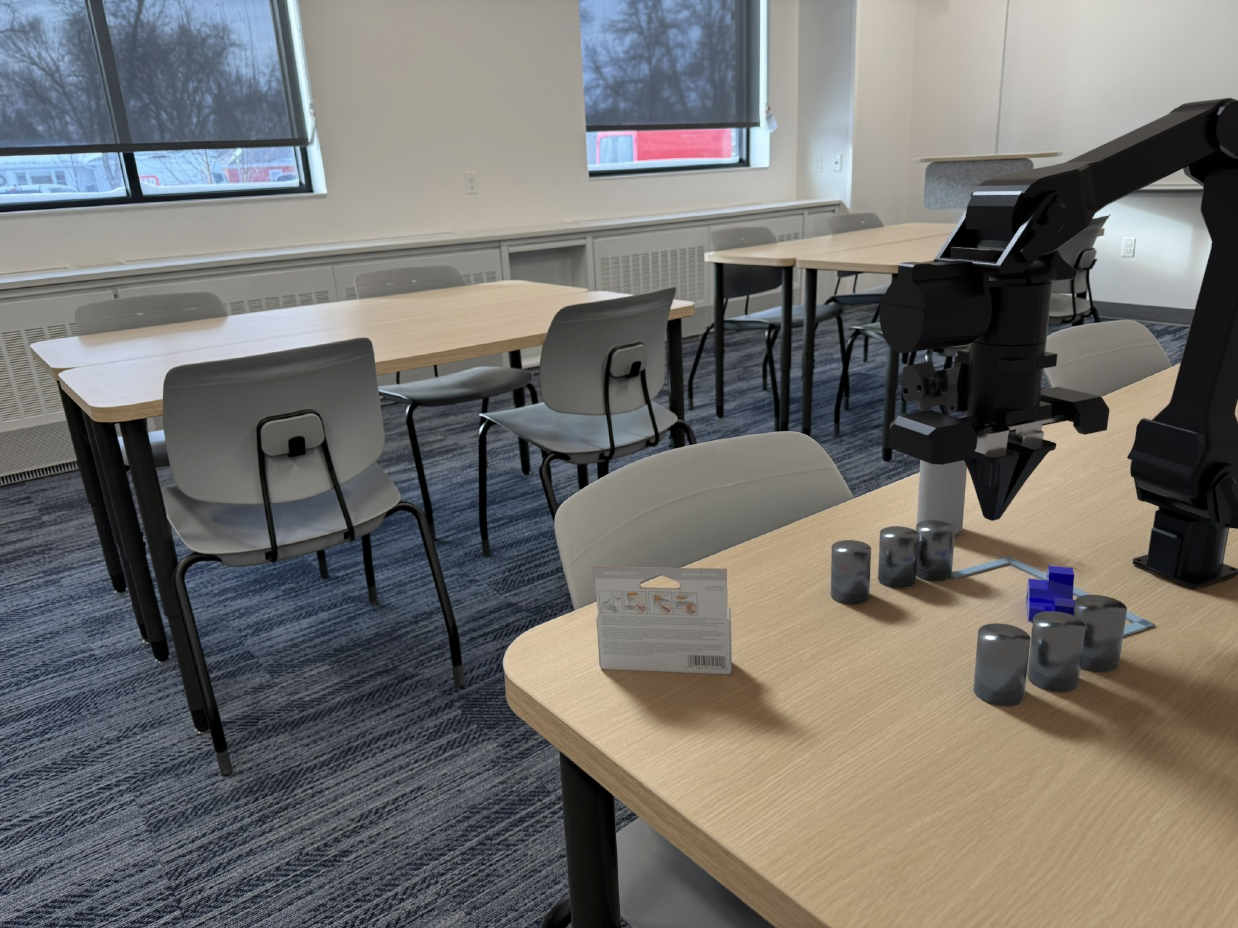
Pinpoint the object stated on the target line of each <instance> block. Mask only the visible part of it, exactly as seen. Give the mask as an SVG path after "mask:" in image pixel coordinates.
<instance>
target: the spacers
mask: <svg viewBox="0 0 1238 928" xmlns="http://www.w3.org/2000/svg"><path fill="white" fill-rule="evenodd" d="M915 525H916V526H915V529H914V528H911V527H907V526H898V525H897V526H896V525H893V526H886V527H883V528H881V529H880V531H879V543H878V544H879V545H878V546H879V547H878V569H877V570H878V571H877V579H878V582H879V583H880V584H882V585H884V586H886V587H889V588H893V589H894V588H895V589H906V588H911V587H913V586H915V585H916V583H917V578H919V579H921V580H925V581H931V582H943V581H947V580H949V579H951V578H952V577H951V575H952V572H953V564H954V563H953V562H954V550H955V537H956V535H955V527H954V526H953V525H952V524H950V523H947V522H944V521H938V520H926V521H921V522H919V523H917V522H916V524H915ZM830 559H831V561H830V565H831V566H830V570H831V571H830V597H831V598H832V600H835V602H838V603H840V604H841V603H842V604H846V605H858V604H859V605H860V604H863V603H866V602H867V601H868V600H869V599H870V593H871V591H870V590H871V587H870V586H871V565H872V564H871V561H872V547H871V546H870V545H869V544H868V543H866V542H864V541H860V540H854V539H846V540H839V541H836V542H834V543H833V544H832V545H831V558H830ZM1074 600H1075V607H1074V615H1070V614H1067V613H1063V612H1056V611H1045V612H1040V613H1038V614H1036V615H1035V616H1034V617H1033V622H1032V627H1031V636H1030V634H1029V633H1028V632H1027V631H1026V630H1024V629H1022V628H1021V627H1018V626H1014V625H1011V624H1007V623H999V622H998V623H995V622H993V623H987V624H983V625H982V626H981V627H979V628H978V630H977V640H976V641H977V642H976V643H977V644H976V653H975V654H976V655H975V665H974V674H973V675H974V676H973V677H974V678H973V693H974V694H975V695H976V697H977V698H979V699H980V700H982V701H984V702H986V703H988V704H990V705H995V706H1000V707H1012V706H1013V707H1014V706H1017V705H1020V704H1021V703H1023V701H1024V700H1025V695H1026V685H1027V679H1028V680H1029V681H1030V682H1031V683H1032V684H1033V685H1034V686H1036V687H1037V688H1040V689H1043V690H1046V691H1049V692H1054V693H1055V692H1056V693H1067V692H1072V691H1075V690H1076V689H1077V688H1078V686H1079V684H1080V683H1079V681H1080V675H1081V669H1083V670H1086V671H1089V672H1095V673H1110V672H1114V671H1116V670H1118V669H1119V667H1120V662H1121V656H1122V655H1121V654H1122V648H1123V647H1122V646H1123V640H1124V636H1123V634H1124V627H1125V625H1126V621H1127V619H1126V614H1127V611H1128V607H1127V606H1126V604H1124V602H1122V601H1120V600H1118V599H1116V598H1113V597H1110V596H1107V595H1102V594H1091V595H1083V596H1079V597H1078V596H1077V597H1076V599H1074Z"/></svg>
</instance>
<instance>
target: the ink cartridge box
mask: <svg viewBox="0 0 1238 928" xmlns="http://www.w3.org/2000/svg"><path fill="white" fill-rule="evenodd" d="M592 570H593V571H592V573H593V578H594V579H593V580H594V590H595V598H596V600H595V601H596V605H597V606H596V607H597V614H596V622H595V623H596V633H597V644H598V645H597V646H598V648H597V649H598V661H599V662H598V664H599V668H600V669H601V670H610V671H611V670H614V671H615V670H617V671H634V672H635V671H637V672H638V671H639V672H640V671H641V672H659V673H660V672H662V673H663V672H664V673H679V674H680V673H682V674H685V673H686V674H705V675H706V674H707V675H708V674H709V675H730V674H731V673H732V666H733V658H732V657H733V655H732V654H733V653H732V652H733V651H732V647H733V646H732V610H731V607H728V604H729V603H728V602H729V601H728V569H727V568H726V567H725V568H718V567H717V568H715V567H714V568H713V567H712V568H709V567H706V568H703V567H645V566H644V567H641V566H639V567H638V566H636V567H635V566H631V567H630V566H593V567H592ZM655 576H663V577H664V578H667V579H670V580H672V581H675V582H677V583H679V587H649V586H648V587H646V586H641V583H642V582H643V581H646V580H648V579H650V578H653V577H655Z"/></svg>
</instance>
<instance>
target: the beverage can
mask: <svg viewBox="0 0 1238 928" xmlns="http://www.w3.org/2000/svg"><path fill="white" fill-rule="evenodd" d="M919 461H920V463H919V477H918V493H917V495H918V497H917V512H916V517H917V518H916V524H917V523H919V522H921V521H926V520H938V521H944V522H947V523H950V524H952V525H953V526H954V527H955V536H958V534H959V533H960V532H961V531H962V530H963V526H964V516H965V515H964V514H965V513H964V512H965V502H966V487H967V486H966V485H967V473H968V468H967V466H966V464H965V462H964V460H963V461H958V462H953V463H948V464H944V465H938V464H930V463H927V462H925V461H922V460H919Z"/></svg>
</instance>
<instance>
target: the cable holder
mask: <svg viewBox="0 0 1238 928" xmlns="http://www.w3.org/2000/svg"><path fill="white" fill-rule="evenodd" d="M1046 574H1047V579H1046V580H1042V579H1040V578H1039V579H1038V578H1037V579H1036V578H1030V577H1029V578H1028V579H1027V587H1026V596H1025V604H1026V605H1025V606H1026V612H1027V613H1026V614H1027V620H1028V622H1031V623H1033V617H1034V616H1035V615H1036V614H1038V613H1040V612H1045V611H1056V612H1063V613H1067V614H1070V615H1074V607H1075V600H1076V599H1074V594H1073V586H1074V583H1075V571H1074V568H1073V567H1066V566H1060V565H1059V566H1058V565H1057V566H1056V565H1047V572H1046Z"/></svg>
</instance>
